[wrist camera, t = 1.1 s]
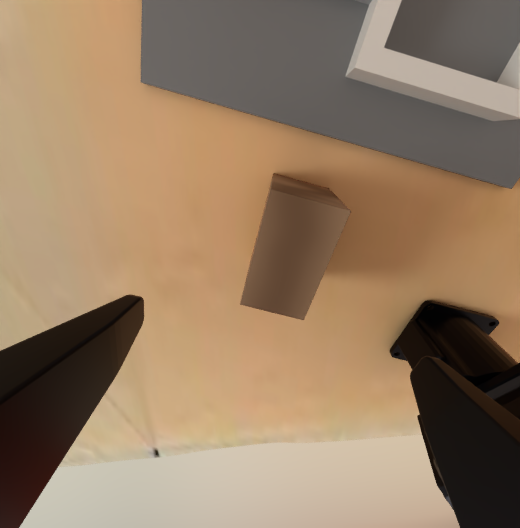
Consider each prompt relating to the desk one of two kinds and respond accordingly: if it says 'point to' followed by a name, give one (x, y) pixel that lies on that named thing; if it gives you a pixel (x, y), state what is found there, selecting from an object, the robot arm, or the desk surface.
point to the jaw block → (293, 246)
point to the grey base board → (355, 72)
